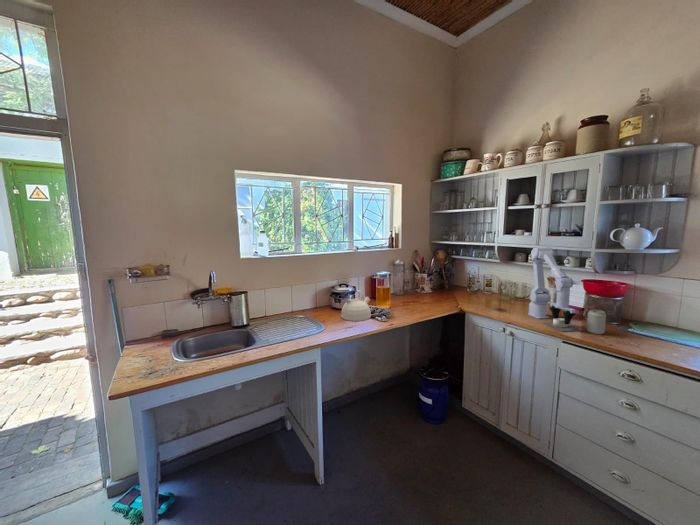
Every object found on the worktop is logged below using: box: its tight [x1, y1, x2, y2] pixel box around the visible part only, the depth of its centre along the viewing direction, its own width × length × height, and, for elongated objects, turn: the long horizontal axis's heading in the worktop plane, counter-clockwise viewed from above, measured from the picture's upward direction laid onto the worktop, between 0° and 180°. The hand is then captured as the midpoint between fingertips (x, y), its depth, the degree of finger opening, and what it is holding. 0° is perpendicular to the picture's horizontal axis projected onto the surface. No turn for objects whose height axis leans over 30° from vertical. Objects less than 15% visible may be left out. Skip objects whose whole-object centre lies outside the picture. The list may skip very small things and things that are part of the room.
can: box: [586, 309, 607, 335], centre depth 152 cm, size 8×8×12 cm
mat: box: [543, 321, 581, 333], centre depth 162 cm, size 14×10×1 cm
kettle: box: [340, 289, 372, 322], centre depth 189 cm, size 20×21×18 cm
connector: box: [552, 317, 571, 328], centre depth 162 cm, size 9×3×4 cm, turn 95°
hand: (561, 321), depth 161 cm, fingers open, 7 cm apart
